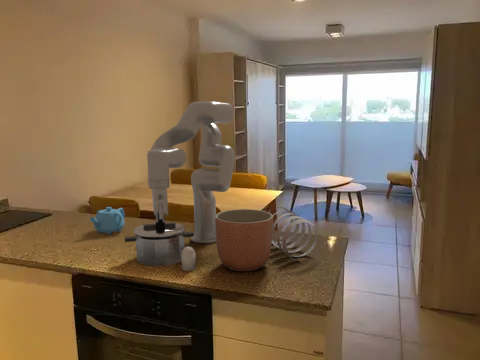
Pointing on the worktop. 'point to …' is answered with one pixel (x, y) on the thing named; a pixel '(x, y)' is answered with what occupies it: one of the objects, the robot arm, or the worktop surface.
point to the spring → (288, 230)
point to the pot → (159, 249)
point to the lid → (150, 232)
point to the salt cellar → (188, 259)
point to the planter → (244, 238)
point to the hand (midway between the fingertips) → (160, 232)
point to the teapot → (109, 220)
